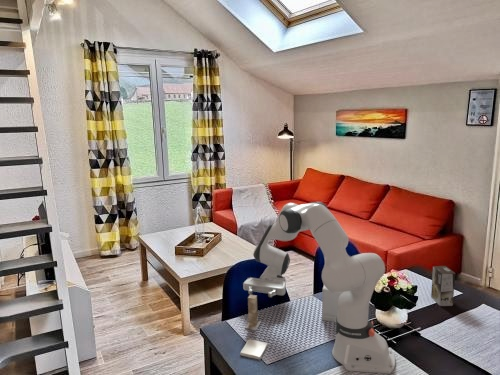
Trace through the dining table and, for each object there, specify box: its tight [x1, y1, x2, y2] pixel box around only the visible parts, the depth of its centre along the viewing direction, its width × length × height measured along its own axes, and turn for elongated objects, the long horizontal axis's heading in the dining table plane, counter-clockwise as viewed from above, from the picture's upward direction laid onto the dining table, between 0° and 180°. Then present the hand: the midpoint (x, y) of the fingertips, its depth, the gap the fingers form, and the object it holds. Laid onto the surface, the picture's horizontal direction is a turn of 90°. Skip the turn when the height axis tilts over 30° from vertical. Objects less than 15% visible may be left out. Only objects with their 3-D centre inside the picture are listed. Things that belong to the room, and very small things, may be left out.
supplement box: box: [321, 284, 343, 323], centre depth 167 cm, size 9×9×15 cm
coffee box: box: [430, 265, 456, 307], centre depth 177 cm, size 9×6×16 cm
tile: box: [240, 338, 269, 360], centre depth 147 cm, size 8×2×9 cm
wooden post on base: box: [244, 294, 262, 332], centre depth 163 cm, size 5×7×14 cm
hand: (259, 294), depth 172 cm, fingers open, 8 cm apart
